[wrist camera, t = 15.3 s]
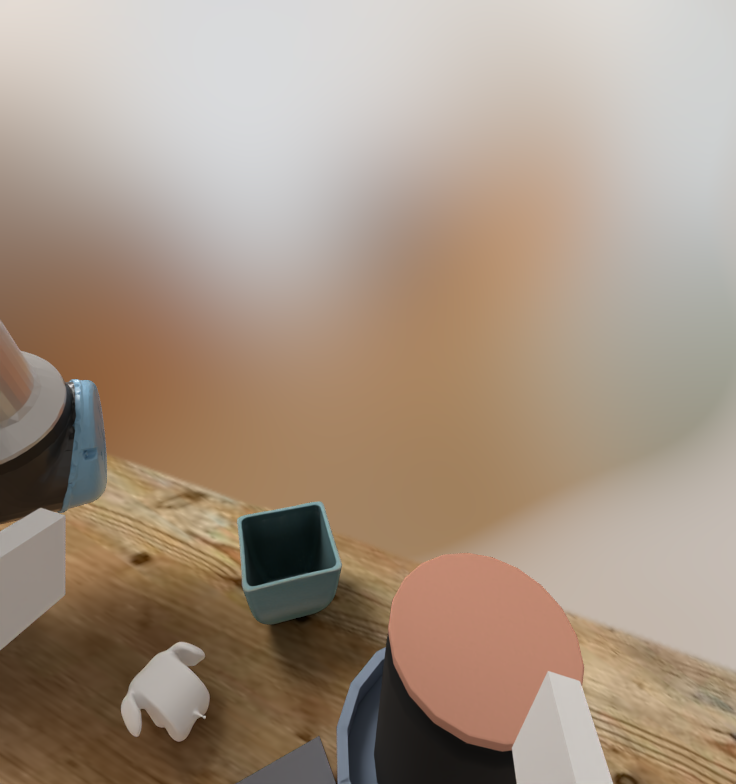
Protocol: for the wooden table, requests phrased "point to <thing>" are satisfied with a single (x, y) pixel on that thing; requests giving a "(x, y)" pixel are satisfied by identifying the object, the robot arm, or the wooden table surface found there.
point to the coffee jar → (465, 670)
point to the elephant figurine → (168, 692)
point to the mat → (296, 767)
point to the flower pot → (288, 562)
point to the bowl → (360, 725)
